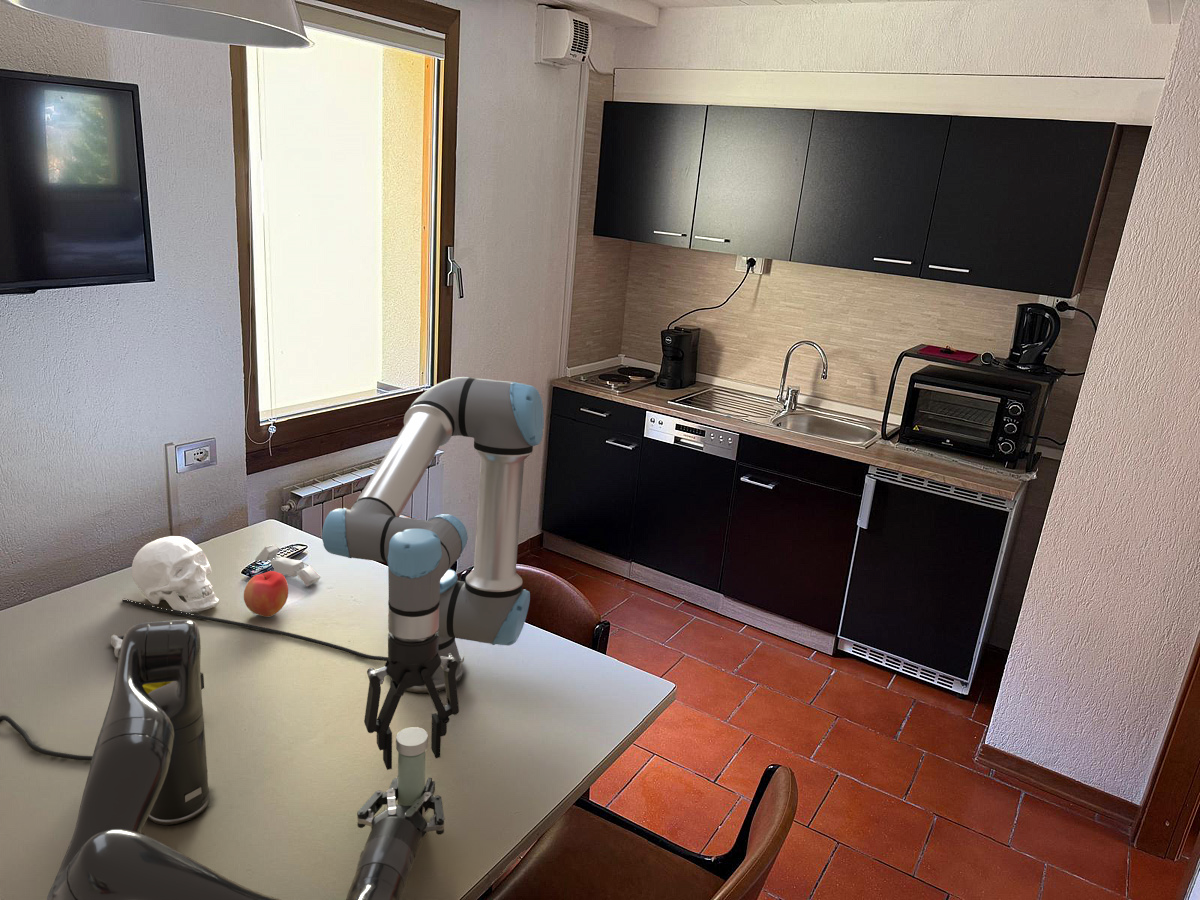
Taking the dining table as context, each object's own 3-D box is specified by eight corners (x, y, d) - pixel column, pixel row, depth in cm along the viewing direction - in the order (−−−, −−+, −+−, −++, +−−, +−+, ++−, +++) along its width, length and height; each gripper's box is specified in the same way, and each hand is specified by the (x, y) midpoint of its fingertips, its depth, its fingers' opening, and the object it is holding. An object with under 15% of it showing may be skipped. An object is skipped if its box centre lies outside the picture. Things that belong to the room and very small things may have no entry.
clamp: (253, 565, 223) (254, 542, 221) (265, 560, 226) (266, 537, 224) (309, 593, 215) (310, 569, 213) (320, 588, 218) (321, 564, 216)
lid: (391, 753, 133) (391, 743, 133) (402, 734, 138) (403, 724, 137) (421, 758, 133) (421, 748, 132) (431, 739, 137) (432, 729, 137)
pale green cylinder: (405, 814, 142) (406, 729, 137) (428, 820, 141) (430, 735, 136) (392, 831, 138) (393, 745, 134) (416, 838, 137) (418, 751, 133)
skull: (197, 623, 194) (195, 558, 190) (119, 603, 200) (115, 540, 196) (237, 600, 207) (236, 539, 203) (163, 582, 212) (160, 522, 208)
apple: (273, 600, 207) (272, 562, 204) (297, 613, 202) (296, 575, 199) (237, 614, 200) (234, 575, 197) (261, 628, 194) (259, 588, 191)
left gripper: (339, 875, 125) (372, 795, 142) (435, 883, 125) (458, 803, 142) (338, 833, 123) (372, 757, 140) (436, 842, 123) (459, 765, 139)
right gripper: (469, 609, 137) (464, 731, 144) (341, 629, 128) (342, 758, 135) (484, 631, 131) (479, 758, 137) (351, 654, 122) (352, 788, 128)
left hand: (415, 781), depth 140 cm, fingers closed on pale green cylinder, 4 cm apart
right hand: (411, 758), depth 136 cm, fingers open, 7 cm apart
